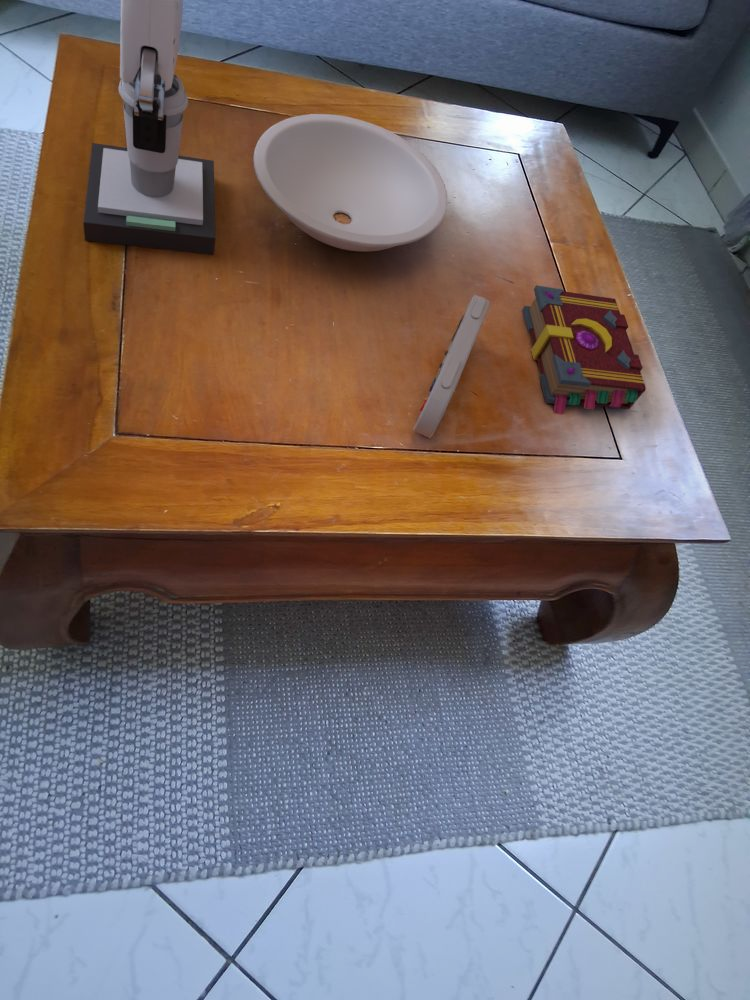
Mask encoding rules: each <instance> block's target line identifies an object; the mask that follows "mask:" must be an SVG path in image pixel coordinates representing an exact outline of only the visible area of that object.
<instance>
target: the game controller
mask: <svg viewBox="0 0 750 1000" xmlns="http://www.w3.org/2000/svg"><path fill="white" fill-rule="evenodd" d="M490 303H491V302H490V301H489V300H488V299H486V298H485V297H483V296H480V295H476V294H474V295H472V297H471V299H470V301H469V303H468V305H467V307H466V308H465V311H464V313H463V315H462V316H461V318H460V320H459V322H458V325H457V327H456V329H455V331H454V333H453V336H452V338H451V342H450V344H449V346H448V349H447V350H445V352H444V358H443V360H442V362H440V363H439V366H438V367H439V369H438V372H437V374H436V376H435V377H434V378H433V380H432V382H431V385H430V387H429V390H428V394H427V396H425V398H424V400H423V402H422V404H421V406H420V409H419V415H418V417H417V419H416V421H415V424H414V425H413V431H414V433H417V434H419V435H422V436H424V437H426V438H429V439H430V438H433V435H434V434H435V432H436V430H437V428H438V427H439V425H440V422H441V421H442V418H443V416H444V414H445V412H446V410H447V408H448V406H449V404H450V401H451V400H452V397H453V395H454V392H455V391H456V388H457V386H458V383H459V381H460V379H461V377H462V373H463V372H464V369H465V367H466V364H467V362H468V359H469V357H470V354H471V352H472V350H473V347H474V345H475V342H476V339H477V337H478V335H479V333H480V330H481V327H482V325H483V324H484V323H483V322H484V320H485V317H486V315H487V312H488V310H489V308H490V305H491V304H490Z"/></svg>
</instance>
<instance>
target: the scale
mask: <svg viewBox="0 0 750 1000" xmlns="http://www.w3.org/2000/svg"><path fill="white" fill-rule="evenodd" d="M214 162H215V161H214V160H213V159H204V158H197V157H193V156H192V157H191V156H185V155H179V156H178V163H177V165H176V170H175V179H174V187H173V190H172V192H171V193H169V194H168V195H166V196H162V197H150V196H146V195H144V194H141V193H140V192H138V191H137V190H136V189H135V188H134V187H133V185H132V182H131V170H130V159H129V157H128V151H127V147H123V146H117V145H109V144H103V143H98V142H97V143H95V142H92V143H91V150H90V158H89V167H88V168H89V170H88V177H87V186H86V195H85V205H84V213H83V214H84V215H83V221H82V223H83V234H84V241H87V242H96V243H103V244H104V243H106V244H113V245H123V246H129V247H131V246H132V247H139V248H149V249H157V250H166V251H175V252H183V253H194V254H200V255H211V256H214V255H215V246H216V207H215V206H216V204H215V203H216V201H215V200H216V199H215V163H214Z"/></svg>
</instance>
